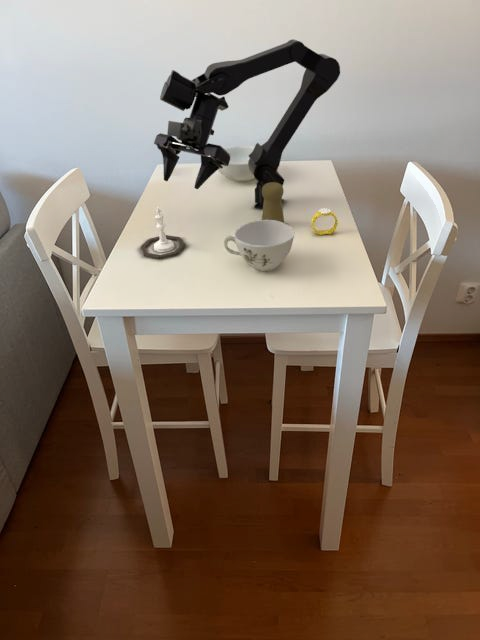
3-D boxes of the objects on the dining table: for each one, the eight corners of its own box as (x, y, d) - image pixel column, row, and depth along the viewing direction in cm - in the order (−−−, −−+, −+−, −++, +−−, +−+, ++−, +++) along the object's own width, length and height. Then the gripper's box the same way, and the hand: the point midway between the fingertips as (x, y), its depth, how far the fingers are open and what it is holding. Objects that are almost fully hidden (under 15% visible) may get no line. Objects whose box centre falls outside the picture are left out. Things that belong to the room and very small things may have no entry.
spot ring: (191, 241, 113) (190, 238, 113) (171, 261, 106) (171, 259, 105) (155, 235, 116) (154, 233, 116) (133, 254, 109) (133, 252, 109)
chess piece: (178, 244, 112) (173, 205, 106) (166, 253, 109) (159, 214, 102) (162, 240, 114) (156, 201, 108) (149, 249, 111) (142, 210, 105)
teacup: (294, 250, 107) (295, 218, 102) (292, 280, 97) (293, 246, 92) (230, 249, 109) (227, 217, 104) (221, 278, 99) (218, 245, 94)
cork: (288, 223, 118) (289, 181, 111) (279, 233, 114) (279, 190, 107) (266, 219, 120) (265, 178, 113) (256, 230, 116) (255, 187, 109)
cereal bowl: (271, 186, 137) (271, 162, 133) (215, 188, 138) (213, 165, 133) (269, 166, 150) (269, 143, 146) (218, 168, 151) (216, 146, 147)
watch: (335, 230, 114) (337, 207, 110) (337, 235, 112) (339, 212, 108) (310, 231, 114) (311, 208, 110) (312, 236, 112) (313, 213, 108)
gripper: (150, 98, 106) (129, 164, 107) (217, 109, 98) (193, 181, 99) (177, 120, 116) (158, 181, 117) (240, 132, 108) (218, 197, 109)
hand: (180, 184), depth 110 cm, fingers open, 9 cm apart
